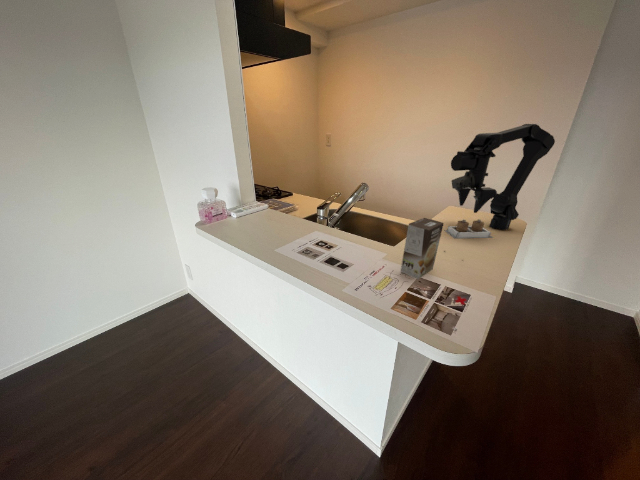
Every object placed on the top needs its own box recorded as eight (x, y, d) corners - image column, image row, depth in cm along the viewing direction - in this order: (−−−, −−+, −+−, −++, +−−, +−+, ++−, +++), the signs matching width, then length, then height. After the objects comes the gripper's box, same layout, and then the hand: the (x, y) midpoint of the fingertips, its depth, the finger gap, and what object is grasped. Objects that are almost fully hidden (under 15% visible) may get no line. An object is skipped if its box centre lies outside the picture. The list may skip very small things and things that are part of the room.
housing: (479, 231, 110) (481, 225, 109) (492, 239, 102) (494, 233, 101) (443, 232, 109) (444, 225, 107) (454, 240, 101) (455, 233, 100)
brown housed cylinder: (476, 231, 107) (480, 218, 105) (483, 235, 104) (487, 221, 101) (467, 231, 107) (471, 218, 104) (473, 235, 103) (477, 221, 101)
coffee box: (418, 280, 76) (428, 230, 69) (399, 271, 80) (407, 223, 73) (433, 269, 81) (444, 222, 75) (415, 262, 86) (423, 216, 79)
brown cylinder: (462, 232, 107) (466, 218, 104) (467, 236, 103) (471, 222, 101) (452, 231, 107) (456, 218, 104) (458, 235, 103) (462, 221, 100)
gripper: (444, 166, 105) (437, 202, 111) (473, 174, 88) (462, 217, 95) (470, 165, 106) (461, 202, 112) (503, 174, 89) (491, 216, 95)
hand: (467, 208), depth 104 cm, fingers open, 9 cm apart
